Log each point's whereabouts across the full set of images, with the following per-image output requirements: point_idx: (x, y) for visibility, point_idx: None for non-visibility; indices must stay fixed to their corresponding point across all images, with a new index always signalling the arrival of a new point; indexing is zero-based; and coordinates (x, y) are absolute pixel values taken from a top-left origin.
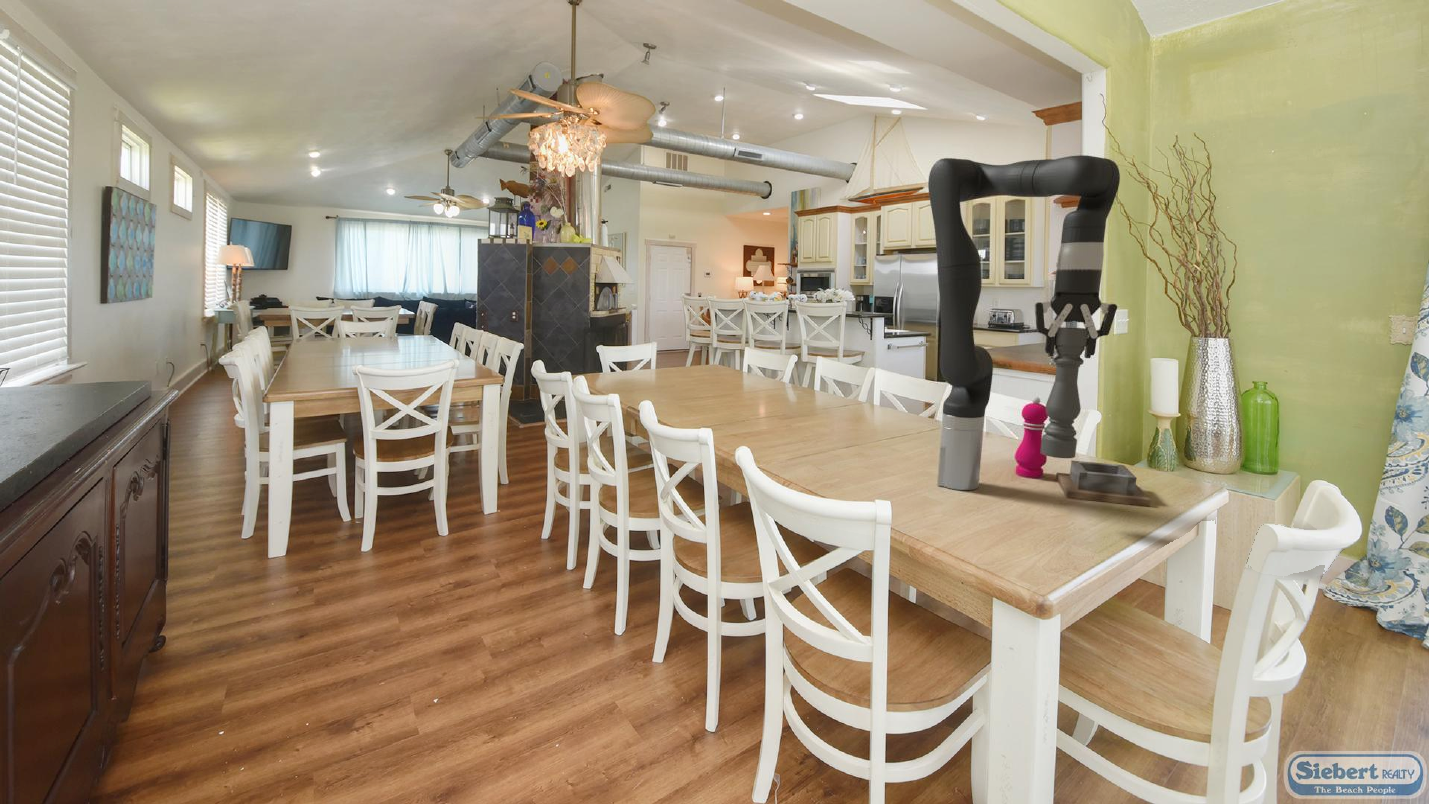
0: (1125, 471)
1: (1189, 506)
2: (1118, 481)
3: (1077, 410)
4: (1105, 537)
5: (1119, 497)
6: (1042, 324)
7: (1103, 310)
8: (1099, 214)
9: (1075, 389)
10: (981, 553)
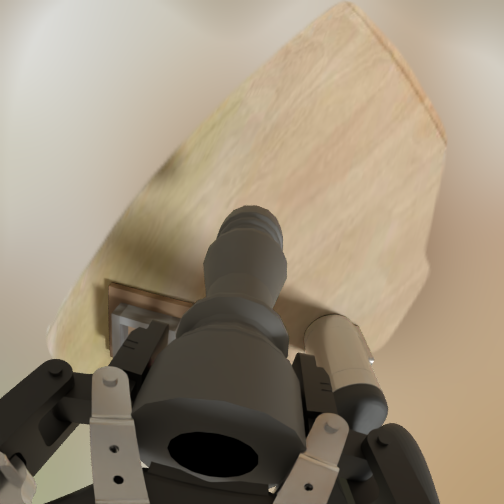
0: (117, 338)
1: (75, 287)
2: (132, 315)
3: (220, 235)
4: (206, 155)
5: (139, 293)
6: (389, 464)
7: (18, 482)
8: None
9: (220, 264)
10: (380, 86)
